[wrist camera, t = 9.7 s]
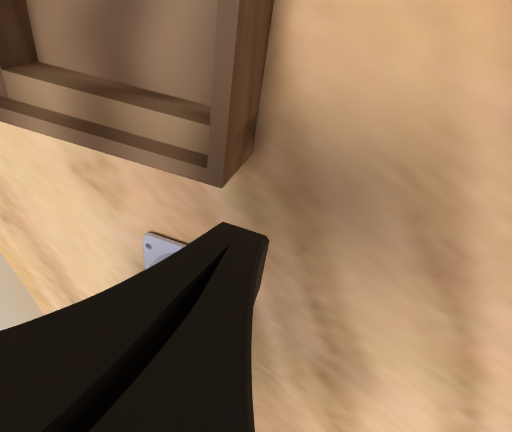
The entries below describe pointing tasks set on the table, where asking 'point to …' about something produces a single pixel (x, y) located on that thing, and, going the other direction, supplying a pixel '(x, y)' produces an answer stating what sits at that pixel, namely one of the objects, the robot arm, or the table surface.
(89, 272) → the table surface
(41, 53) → the box
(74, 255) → the table surface
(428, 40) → the table surface
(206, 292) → the robot arm
